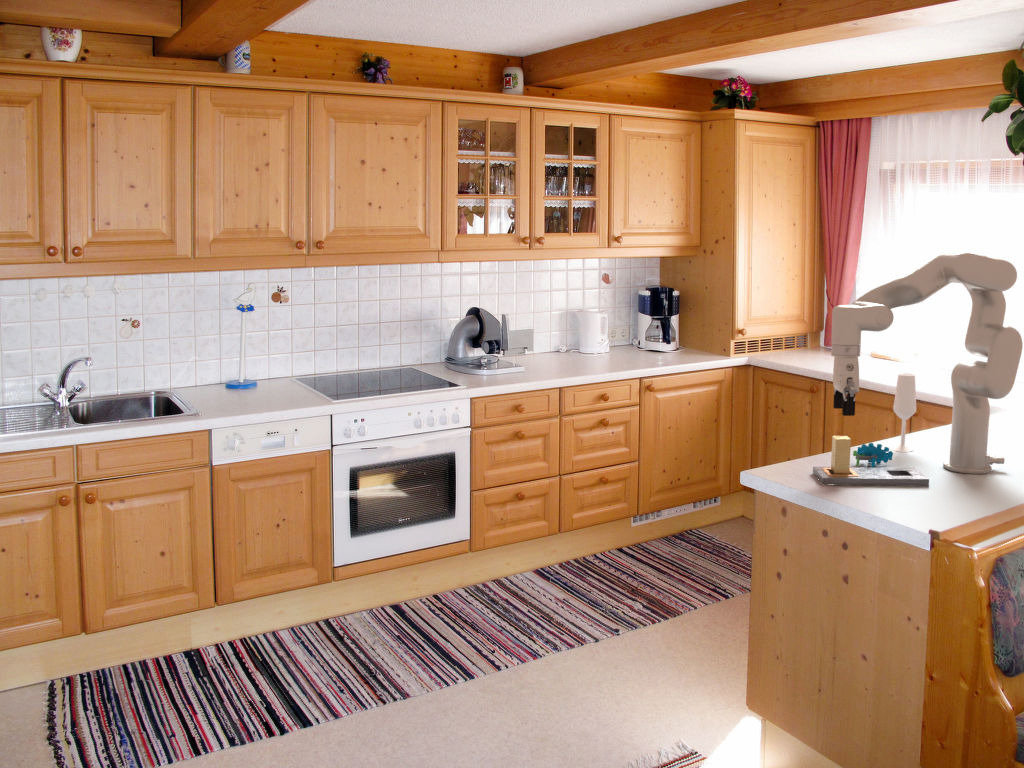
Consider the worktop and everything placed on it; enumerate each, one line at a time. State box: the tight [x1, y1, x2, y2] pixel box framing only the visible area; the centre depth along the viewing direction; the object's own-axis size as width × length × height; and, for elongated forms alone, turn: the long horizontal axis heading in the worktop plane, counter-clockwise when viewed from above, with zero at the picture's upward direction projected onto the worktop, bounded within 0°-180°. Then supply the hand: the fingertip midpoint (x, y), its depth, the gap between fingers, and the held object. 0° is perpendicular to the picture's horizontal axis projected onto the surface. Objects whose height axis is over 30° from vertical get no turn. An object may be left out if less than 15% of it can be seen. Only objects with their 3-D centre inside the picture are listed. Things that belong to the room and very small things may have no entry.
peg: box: [830, 435, 852, 475], centre depth 257 cm, size 4×4×12 cm
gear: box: [852, 442, 894, 467], centre depth 271 cm, size 11×6×10 cm
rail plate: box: [812, 466, 930, 487], centre depth 257 cm, size 28×12×2 cm, turn 84°
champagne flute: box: [890, 372, 917, 453], centre depth 289 cm, size 7×7×24 cm
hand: (843, 411), depth 255 cm, fingers open, 9 cm apart
